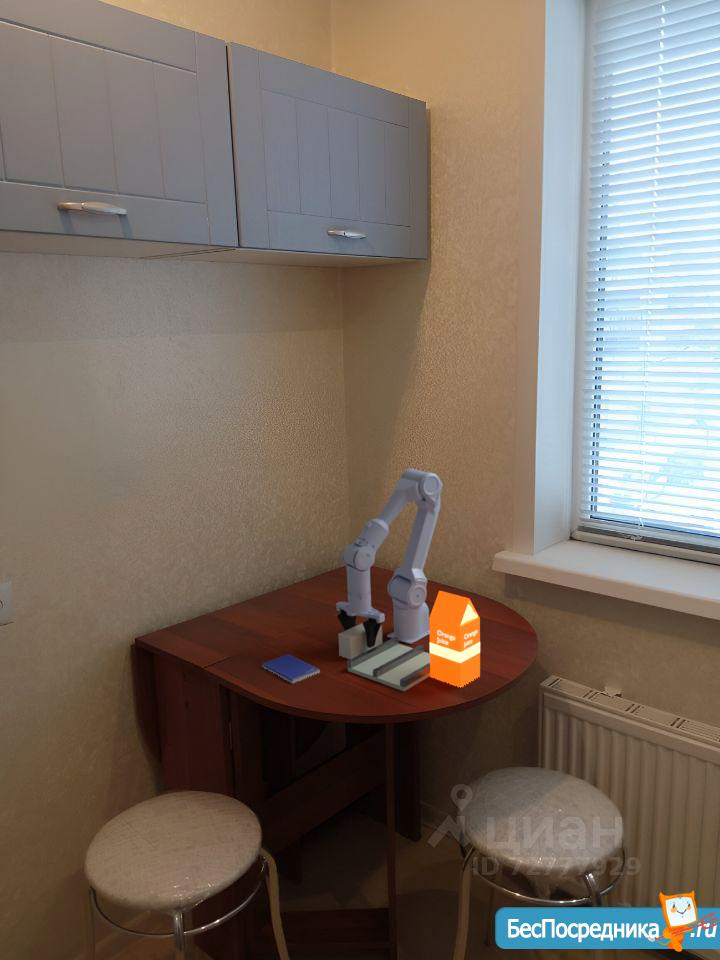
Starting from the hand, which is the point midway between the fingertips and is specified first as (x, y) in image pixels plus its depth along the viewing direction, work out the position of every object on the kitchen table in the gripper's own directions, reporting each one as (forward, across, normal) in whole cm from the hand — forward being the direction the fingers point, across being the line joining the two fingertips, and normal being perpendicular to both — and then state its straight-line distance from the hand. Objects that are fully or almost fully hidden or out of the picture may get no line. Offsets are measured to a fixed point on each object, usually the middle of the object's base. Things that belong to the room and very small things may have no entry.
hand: (361, 642), depth 191 cm
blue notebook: (+3, -6, -19) cm, 20 cm away
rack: (+2, +14, -2) cm, 14 cm away
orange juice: (+2, +27, +2) cm, 27 cm away
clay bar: (+2, 0, 0) cm, 2 cm away
